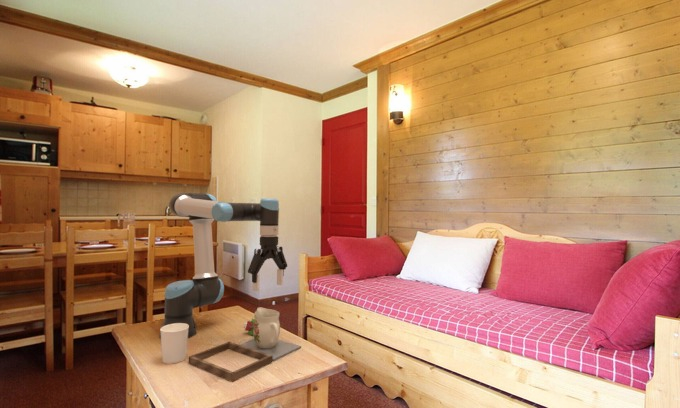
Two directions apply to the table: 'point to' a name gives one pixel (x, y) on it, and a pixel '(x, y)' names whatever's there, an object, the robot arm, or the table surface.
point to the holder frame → (224, 373)
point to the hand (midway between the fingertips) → (268, 287)
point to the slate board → (274, 348)
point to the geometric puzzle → (249, 326)
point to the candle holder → (174, 342)
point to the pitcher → (266, 327)
